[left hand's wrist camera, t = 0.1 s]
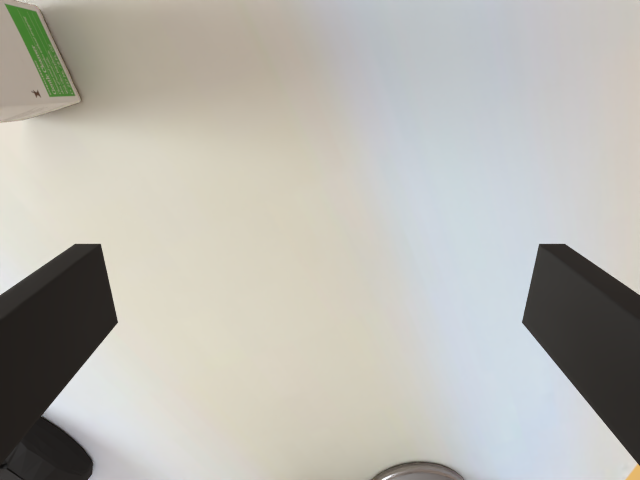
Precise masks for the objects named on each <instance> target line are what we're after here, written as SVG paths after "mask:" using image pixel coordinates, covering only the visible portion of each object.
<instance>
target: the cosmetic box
mask: <svg viewBox="0 0 640 480" xmlns="http://www.w3.org/2000/svg"><path fill="white" fill-rule="evenodd" d="M80 101H81V99H80V96H79V94H78V92H77V90H76V88H75V86H74V84H73V82H72V79H71V77H70V74H69V72H68V70H67V68H66V66H65V64H64V62H63V60H62V57H61V55H60V53H59V51H58V49H57V47H56V45H55V42H54V40H53V38H52V36H51V34H50V32H49V29H48V27H47V25H46V23H45V21H44V18H43V16H42V14H41V12H40V10H39V8H38V7H37V6H35V5H31V4H26V3H23V2H19V1H15V0H0V123H3V122H12V121H20V120H25V119H29V118H32V117H36V116H39V115H42V114H46V113H49V112H52V111H55V110H58V109H61V108H64V107H67V106H70V105H74V104H77V103H79V102H80Z"/></svg>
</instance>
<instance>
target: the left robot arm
mask: <svg viewBox="0 0 640 480" xmlns="http://www.w3.org/2000/svg"><path fill="white" fill-rule="evenodd" d="M117 323H118V321H117V316H116V311H115V307H114V302H113V298H112V293H111V289H110V284H109V280H108V275H107V270H106V266H105V261H104V257H103V252H102V248H101V244H74V245H73V246H71V247H70V248H69V249H67V250H66V251H64V252H63V253H61V254H60V255H58V256H57V257H55V258H54V259H52V260H51V261H50V262H48V263H47V264H45V265H44V266H42V267H41V268H39V269H38V270H36V271H35V272H34V273H32V274H31V275H29V276H28V277H26V278H25V279H23V280H22V281H20V282H19V283H17V284H16V285H15V286H13V287H12V288H10V289H9V290H7V291H6V292H4V293H3V294H1V295H0V465H1V464H2V463H3V462H4V461H5V459H6V458H7V457H8V456H9V454H10V453H11V452H12V451H13V450H14V448H15V447H16V446H17V445H18V444H19V442H20V441H21V440H22V439H23V437H24V436H25V435H26V434H27V433H28V431H29V430H30V429H31V428H32V426H33V425H34V424H35V423H36V422H37V420H38V419H39V418H40V417H41V415H42V414H43V413H44V412H45V411H46V409H47V408H48V407H49V406H50V405H51V403H52V402H53V401H54V400H55V398H56V397H57V396H58V395H59V394H60V392H61V391H62V390H63V389H64V387H65V386H66V385H67V384H68V383H69V381H70V380H71V379H72V378H73V376H74V375H75V374H76V373H77V372H78V370H79V369H80V368H81V367H82V366H83V364H84V363H85V362H86V361H87V359H88V358H89V357H90V356H91V355H92V353H93V352H94V351H95V350H96V348H97V347H98V346H99V345H100V344H101V342H102V341H103V340H104V339H105V338H106V336H107V335H108V334H109V333H110V331H111V330H112V329H113V328H114V327H115V325H116V324H117ZM522 323H523V324H524V325H525V327H526V328H527V329H528V330H529V331H530V333H531V334H532V335H533V336H534V338H535V339H536V340H537V341H538V342H539V344H540V345H541V346H542V347H543V348H544V350H545V351H546V352H547V353H548V355H549V356H550V357H551V358H552V359H553V361H554V362H555V363H556V364H557V366H558V367H559V368H560V369H561V370H562V372H563V373H564V374H565V375H566V376H567V378H568V379H569V380H570V381H571V383H572V384H573V385H574V386H575V387H576V389H577V390H578V391H579V392H580V394H581V395H582V396H583V397H584V398H585V400H586V401H587V402H588V403H589V405H590V406H591V407H592V408H593V409H594V411H595V412H596V413H597V414H598V415H599V417H600V418H601V419H602V420H603V422H604V423H605V424H606V425H607V426H608V428H609V429H610V430H611V431H612V433H613V434H614V435H615V436H616V437H617V439H618V440H619V441H620V442H621V444H622V445H623V446H624V447H625V448H626V450H627V451H628V452H629V453H630V454H631V456H632V457H633V458H634V459H635V461H636V462H637V463H638V464H639V465H640V295H639V294H637V293H636V292H634V291H633V290H631V289H630V288H628V287H627V286H625V285H624V284H623V283H621V282H620V281H618V280H617V279H615V278H614V277H612V276H611V275H609V274H608V273H606V272H605V271H604V270H602V269H601V268H599V267H598V266H596V265H595V264H593V263H592V262H590V261H589V260H588V259H586V258H585V257H583V256H582V255H580V254H579V253H577V252H576V251H574V250H573V249H571V248H570V247H569V246H567V245H566V244H539V248H538V252H537V257H536V261H535V266H534V270H533V275H532V280H531V284H530V289H529V293H528V298H527V302H526V307H525V311H524V316H523V321H522ZM372 480H464V479H463V478H462V477H461V476H460V475H459V474H457V473H456V472H455V471H453V470H451V469H449V468H447V467H444V466H441V465H437V464H432V463H408V464H403V465H399V466H395V467H392V468H390V469H388V470H386V471H384V472H382V473H380V474H379V475H377V476H376V477H375V478H374V479H372Z"/></svg>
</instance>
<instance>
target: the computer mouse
mask: <svg viewBox="0 0 640 480" xmlns="http://www.w3.org/2000/svg"><path fill="white" fill-rule="evenodd" d="M92 466H93V465H92V461H91V459H90V458H89V457H88V455H87V454H86V453H85V451H84V450H83V449H82V448H81V447H80V446H79V445H78V444H77V443H76V442H75V441H74V440H73V439H71V438H70V437H69V436H68V435H67V434H65V433H64V432H63V431H61V430H60V429H59V428H57V427H56V426H54V425H52V424H51V423H49V422H48V421H46V420H45V419H43V418H41V417H40V418H39V419H38V420H37V422H36V423H35V424H34V425H33V426H32V428H31V429H30V430H29V431H28V433H27V434H26V435H25V436H24V437H23V439H22V440H21V441H20V442H19V444H18V445H17V446H16V447H15V448H14V450H13V451H12V452H11V453H10V454H9V456H8V457H7V458H6V459H5V461H4V462H3V463H2V464H1V465H0V480H88V478H89V477H90V476H91V474H92Z"/></svg>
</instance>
